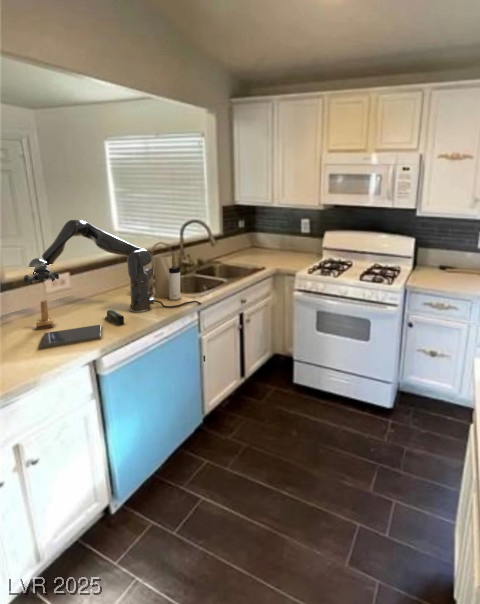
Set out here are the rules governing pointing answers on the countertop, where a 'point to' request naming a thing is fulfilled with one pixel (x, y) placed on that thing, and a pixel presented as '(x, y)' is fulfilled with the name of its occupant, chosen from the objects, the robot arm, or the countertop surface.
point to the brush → (44, 317)
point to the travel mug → (174, 283)
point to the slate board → (71, 336)
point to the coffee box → (150, 278)
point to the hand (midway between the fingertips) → (42, 280)
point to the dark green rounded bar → (115, 317)
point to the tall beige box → (162, 274)
